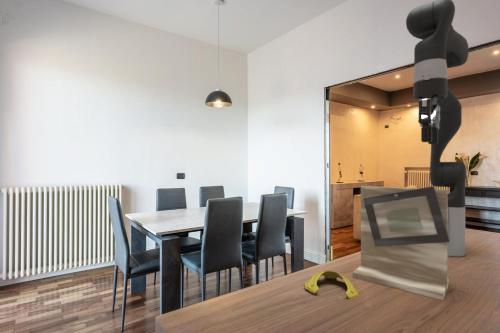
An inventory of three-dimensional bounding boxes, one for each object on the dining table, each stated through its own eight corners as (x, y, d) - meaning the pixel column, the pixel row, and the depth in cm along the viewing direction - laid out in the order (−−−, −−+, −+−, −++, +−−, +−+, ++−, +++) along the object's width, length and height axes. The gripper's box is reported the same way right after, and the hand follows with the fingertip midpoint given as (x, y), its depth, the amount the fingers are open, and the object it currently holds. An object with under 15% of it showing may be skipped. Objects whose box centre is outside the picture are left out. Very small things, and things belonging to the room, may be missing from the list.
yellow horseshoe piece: (330, 277, 84) (330, 263, 84) (367, 294, 73) (367, 277, 73) (296, 288, 78) (296, 272, 77) (332, 307, 67) (332, 289, 67)
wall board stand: (366, 265, 92) (366, 185, 92) (449, 283, 78) (449, 188, 78) (352, 277, 83) (352, 188, 83) (443, 300, 69) (443, 192, 68)
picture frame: (376, 245, 83) (364, 198, 85) (449, 240, 72) (433, 186, 74) (374, 247, 81) (362, 198, 83) (448, 242, 70) (432, 186, 72)
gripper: (419, 89, 82) (419, 145, 82) (406, 77, 71) (406, 142, 71) (451, 84, 77) (451, 144, 77) (442, 70, 66) (442, 140, 66)
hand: (429, 143), depth 74 cm, fingers open, 8 cm apart
